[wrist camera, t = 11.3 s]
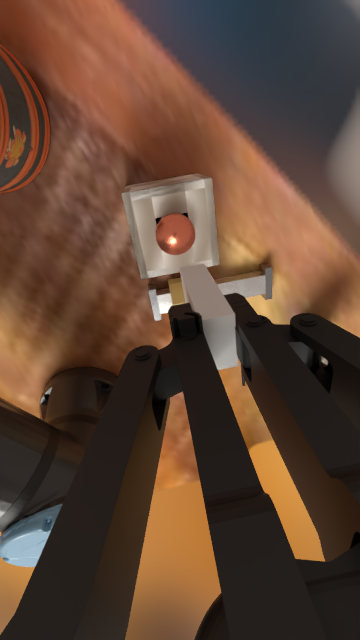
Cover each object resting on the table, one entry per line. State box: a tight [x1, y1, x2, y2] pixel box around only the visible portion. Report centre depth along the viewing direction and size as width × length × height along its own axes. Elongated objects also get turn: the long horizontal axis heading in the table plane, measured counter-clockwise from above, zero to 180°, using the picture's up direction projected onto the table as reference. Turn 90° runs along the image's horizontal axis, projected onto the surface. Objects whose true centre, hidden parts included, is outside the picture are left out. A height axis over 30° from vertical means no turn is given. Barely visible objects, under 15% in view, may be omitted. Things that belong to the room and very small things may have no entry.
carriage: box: [168, 277, 185, 305], centre depth 40 cm, size 5×6×8 cm
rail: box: [148, 263, 272, 321], centre depth 43 cm, size 18×5×2 cm, turn 99°
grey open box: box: [121, 173, 220, 279], centre depth 34 cm, size 9×9×9 cm
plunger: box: [155, 213, 195, 255], centre depth 31 cm, size 4×4×5 cm
